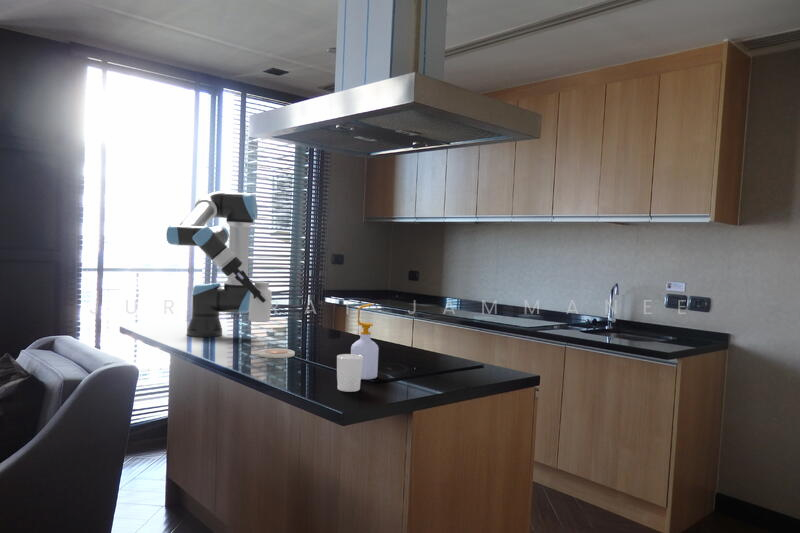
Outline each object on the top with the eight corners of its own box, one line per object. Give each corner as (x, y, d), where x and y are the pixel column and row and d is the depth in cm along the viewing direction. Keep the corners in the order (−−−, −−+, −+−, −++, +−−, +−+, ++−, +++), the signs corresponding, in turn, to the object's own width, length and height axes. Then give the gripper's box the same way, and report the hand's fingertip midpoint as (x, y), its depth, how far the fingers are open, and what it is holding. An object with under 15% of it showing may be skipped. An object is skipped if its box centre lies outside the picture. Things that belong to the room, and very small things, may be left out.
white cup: (356, 393, 171) (358, 359, 171) (331, 390, 173) (333, 357, 173) (365, 387, 179) (366, 355, 179) (341, 385, 181) (342, 353, 181)
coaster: (256, 351, 229) (256, 348, 229) (291, 351, 233) (292, 347, 233) (259, 358, 215) (259, 354, 215) (297, 358, 220) (297, 354, 220)
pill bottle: (266, 323, 217) (269, 283, 217) (245, 321, 218) (247, 281, 218) (272, 320, 225) (274, 282, 225) (252, 319, 226) (254, 280, 226)
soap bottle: (377, 380, 190) (381, 305, 189) (349, 379, 189) (353, 304, 189) (376, 374, 199) (380, 302, 198) (350, 373, 198) (353, 301, 198)
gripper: (220, 267, 227) (260, 310, 232) (219, 270, 207) (263, 316, 212) (235, 255, 228) (274, 297, 233) (236, 256, 208) (279, 302, 213)
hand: (269, 306), depth 223 cm, fingers closed on pill bottle, 8 cm apart
